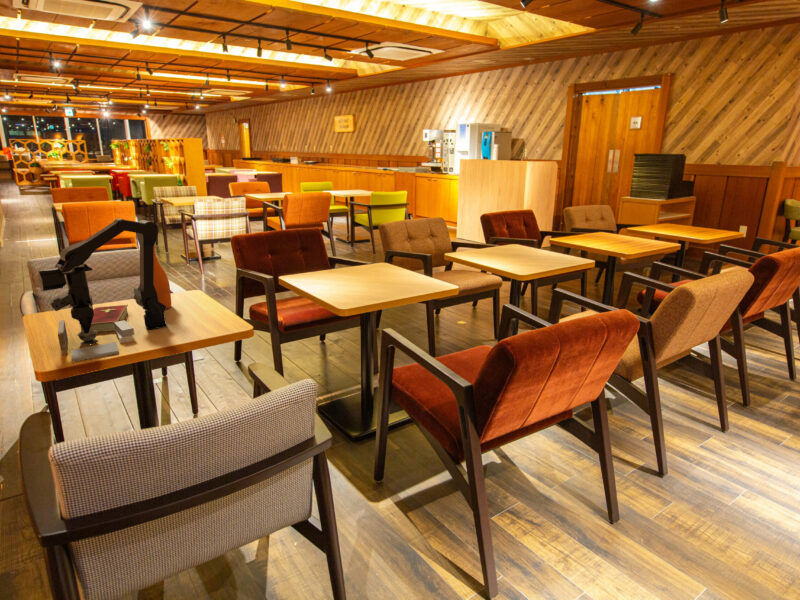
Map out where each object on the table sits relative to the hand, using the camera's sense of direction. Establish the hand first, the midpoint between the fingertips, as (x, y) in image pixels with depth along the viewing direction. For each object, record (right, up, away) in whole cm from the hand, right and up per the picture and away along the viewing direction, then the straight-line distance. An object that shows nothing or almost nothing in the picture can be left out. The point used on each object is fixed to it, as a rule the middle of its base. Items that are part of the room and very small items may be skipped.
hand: (86, 329), depth 170 cm
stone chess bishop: (0, -5, +2) cm, 5 cm away
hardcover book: (-5, +1, +21) cm, 22 cm away
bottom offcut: (+9, -4, +7) cm, 12 cm away
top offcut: (+9, -1, +7) cm, 12 cm away
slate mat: (+7, -7, -7) cm, 13 cm away
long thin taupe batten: (-6, -6, -2) cm, 9 cm away
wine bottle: (+7, +6, +38) cm, 39 cm away
